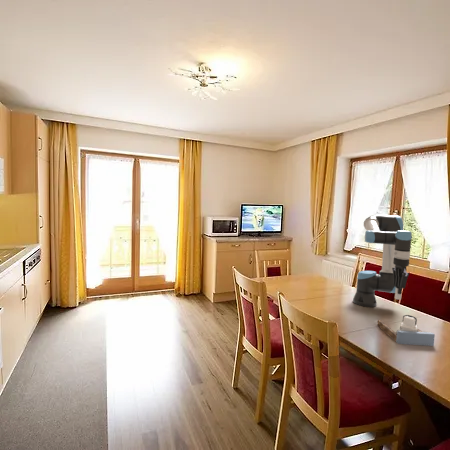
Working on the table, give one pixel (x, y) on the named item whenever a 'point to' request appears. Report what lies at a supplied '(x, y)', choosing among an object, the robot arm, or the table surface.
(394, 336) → the guide channel
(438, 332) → the table surface
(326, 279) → the table surface
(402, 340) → the end stop
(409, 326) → the medicine bottle
